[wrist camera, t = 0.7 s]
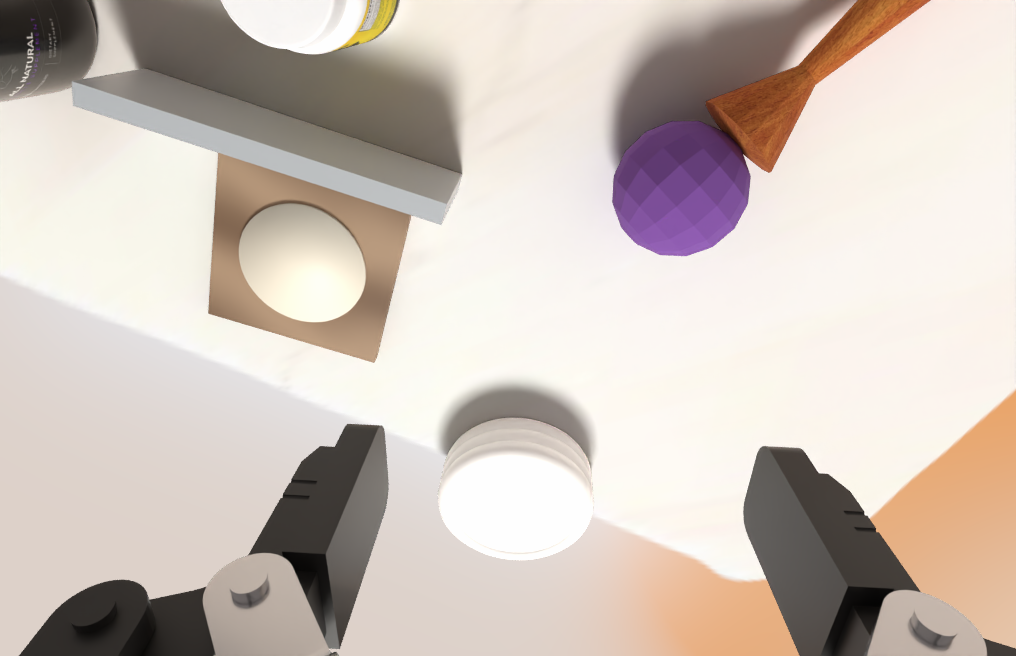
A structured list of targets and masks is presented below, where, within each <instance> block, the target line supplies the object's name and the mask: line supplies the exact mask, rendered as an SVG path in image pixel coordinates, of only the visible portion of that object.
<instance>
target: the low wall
mask: <svg viewBox="0 0 1016 656" xmlns="http://www.w3.org/2000/svg"><path fill="white" fill-rule="evenodd" d="M72 93H73V106H76V107H79V108H82V109H85V110H88V111H91V112H94V113H97V114H100V115H104V116H107V117H110V118H113V119H116V120H119V121H122V122H125V123H128V124H131V125H134V126H138V127H141V128H144V129H147V130H150V131H153V132H156V133H159V134H162V135H165V136H168V137H171V138H175V139H178V140H181V141H184V142H187V143H190V144H193V145H196V146H199V147H202V148H205V149H209V150H212V151H215V152H218V153H221V154H224V155H227V156H230V157H233V158H236V159H239V160H242V161H246V162H249V163H252V164H255V165H258V166H261V167H264V168H267V169H270V170H273V171H276V172H280V173H283V174H286V175H289V176H292V177H295V178H298V179H301V180H304V181H307V182H310V183H313V184H317V185H320V186H323V187H326V188H329V189H332V190H335V191H338V192H341V193H344V194H347V195H350V196H354V197H357V198H360V199H363V200H366V201H369V202H372V203H375V204H378V205H381V206H384V207H388V208H391V209H394V210H397V211H400V212H403V213H406V214H409V215H412V216H415V217H418V218H421V219H425V220H428V221H431V222H434V223H437V224H440V225H441V224H442V222H443V220H444V218H445V216H446V214H447V212H448V210H449V208H450V206H451V204H452V202H453V200H454V198H455V196H456V194H457V191H458V188H459V184H460V181H461V177H462V174H461V173H458V172H455V171H452V170H449V169H446V168H443V167H440V166H437V165H434V164H431V163H428V162H425V161H422V160H419V159H416V158H413V157H410V156H407V155H404V154H401V153H398V152H395V151H392V150H389V149H386V148H383V147H380V146H377V145H374V144H371V143H368V142H365V141H362V140H359V139H356V138H353V137H350V136H347V135H344V134H341V133H338V132H335V131H332V130H329V129H326V128H323V127H320V126H317V125H314V124H311V123H308V122H305V121H302V120H299V119H296V118H293V117H290V116H287V115H284V114H281V113H278V112H275V111H272V110H269V109H266V108H263V107H260V106H257V105H254V104H251V103H248V102H245V101H242V100H239V99H236V98H233V97H230V96H227V95H224V94H221V93H218V92H215V91H212V90H209V89H206V88H203V87H200V86H197V85H194V84H191V83H188V82H185V81H182V80H179V79H176V78H173V77H170V76H167V75H164V74H161V73H158V72H155V71H152V70H149V69H146V68H145V69H139V70H133V71H128V72H122V73H116V74H110V75H105V76H99V77H93V78H87V79H81V80H76V81H72Z"/></svg>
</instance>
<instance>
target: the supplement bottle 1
mask: <svg viewBox="0 0 1016 656" xmlns="http://www.w3.org/2000/svg"><path fill="white" fill-rule="evenodd" d="M96 47H97V33H96V26H95V21H94V17H93V13H92V10H91V7H90V5H89V3H88V0H0V102H3V101H9V100H15V99H21V98H27V97H33V96H38V95H44V94H49V93H54V92H59V91H62V90H65V89H68V88H70V87H72V81H76V80H81V79H83V78H84V77H85V75H86V74H87V73H88V71H89V70H90V68H91V66H92V63H93V61H94V58H95V53H96Z"/></svg>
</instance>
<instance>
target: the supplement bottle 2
mask: <svg viewBox="0 0 1016 656" xmlns="http://www.w3.org/2000/svg"><path fill="white" fill-rule="evenodd" d="M221 2H222V4H223V6H224V8H225V9H226V11H227V13H228V14H229V16H230V17H231V18H232V20H233V21H234V22H235V23H236V24H237V25H238V26H239V27H240V29H241V30H243V31H244V32H245V33H246V34H247V35H249V36H250V37H252V38H253V39H255V40H257V41H258V42H260V43H263V44H265V45H267V46H271V47H275V48H280V49H288V50H291V51H294V52H298V53H303V54H323V53H328V52H331V51H336V50H340V49H343V48H347V47H350V46H354V45H358V44H362V43H365V42H368V41H371V40H373V39H375V38H377V37H378V36H380V35H381V34H382V33H384V32H385V31H386V30H387V28H388V27H389V26H390V25H391V23H392V22H393V20H394V18H395V16H396V13H397V11H398V7H399V3H400V0H221Z"/></svg>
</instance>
